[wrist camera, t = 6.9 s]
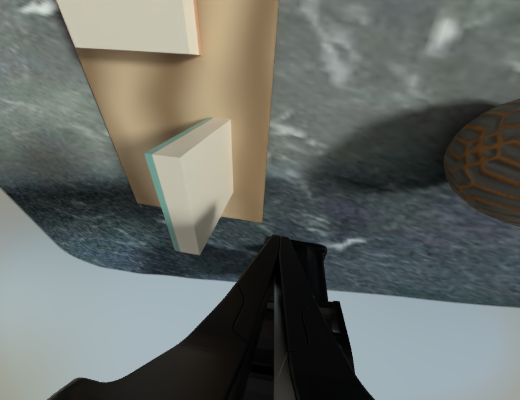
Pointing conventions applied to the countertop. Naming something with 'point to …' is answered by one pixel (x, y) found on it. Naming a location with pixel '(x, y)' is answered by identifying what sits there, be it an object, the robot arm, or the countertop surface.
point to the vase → (488, 163)
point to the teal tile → (193, 181)
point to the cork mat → (194, 96)
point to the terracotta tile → (134, 25)
